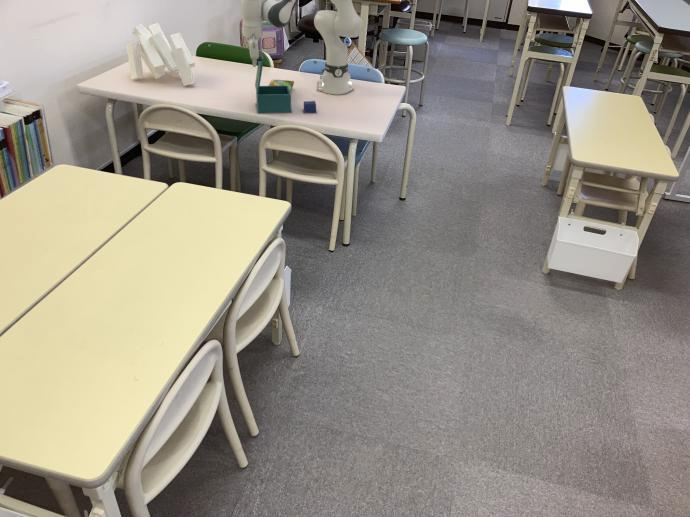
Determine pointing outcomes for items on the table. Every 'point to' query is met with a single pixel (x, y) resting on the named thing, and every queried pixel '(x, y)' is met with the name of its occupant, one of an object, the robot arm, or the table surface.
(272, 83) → the puzzle game
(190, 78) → the pile of blocks
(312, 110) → the block
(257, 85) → the cooler lid
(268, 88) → the cooler
